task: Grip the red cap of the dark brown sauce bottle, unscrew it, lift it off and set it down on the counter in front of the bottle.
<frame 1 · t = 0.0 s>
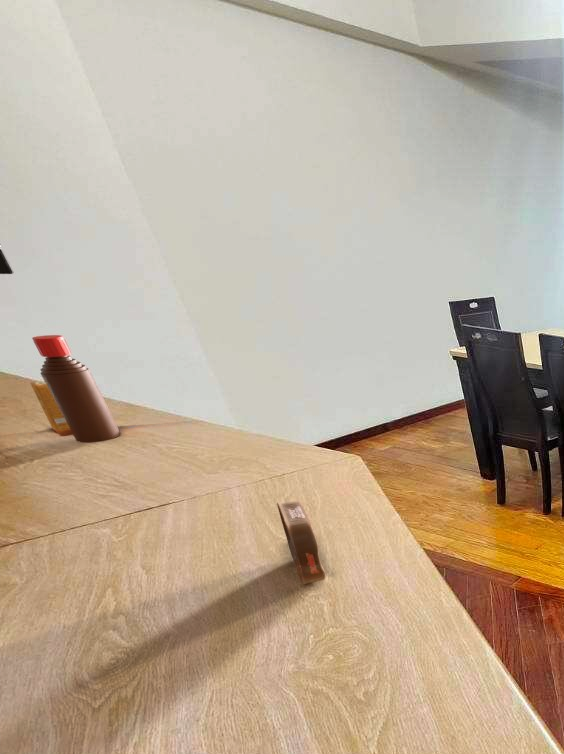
sauce bottle: (99, 437, 117), on the counter
supplement box: (69, 433, 119), on the counter
cap: (48, 338, 108), point 19 cm above the counter, screwed on, not yet turned
brown curved block: (311, 569, 79), on the counter
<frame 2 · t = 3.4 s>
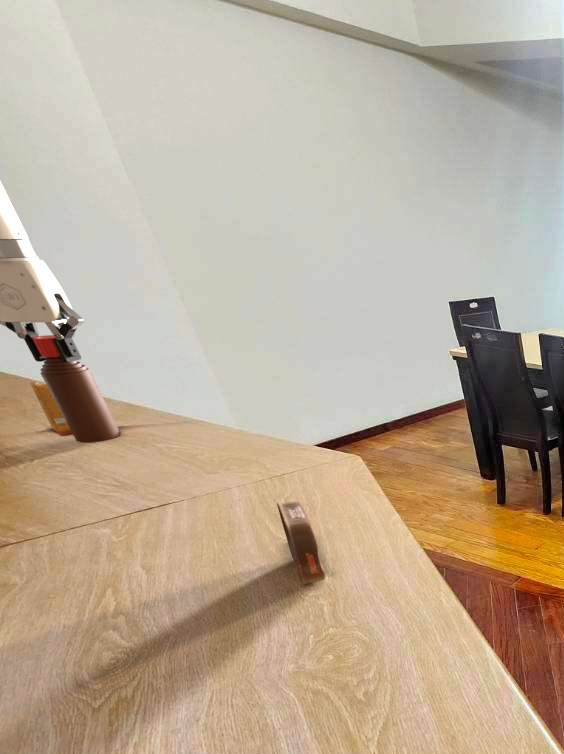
hand: (59, 359, 110), 15 cm above the counter, tool pointing down, fingers closed on cap, 3 cm apart
cap: (48, 338, 108), point 19 cm above the counter, screwed on, not yet turned, touching gripper
everything else where it was.
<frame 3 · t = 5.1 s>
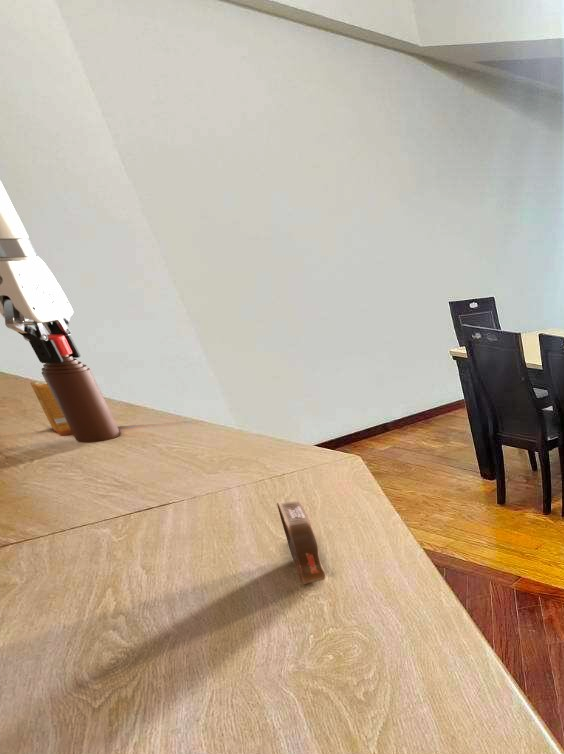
hand: (60, 359, 110), 15 cm above the counter, tool pointing down, fingers closed on cap, 3 cm apart
cap: (49, 337, 108), point 19 cm above the counter, turned 98° so far, risen 0.1 cm, still on its thread, touching gripper
everything else where it was.
when the fingers open (15 cm above the counter, at t = 7.8 s): cap stays where it is, point 19 cm above the counter.
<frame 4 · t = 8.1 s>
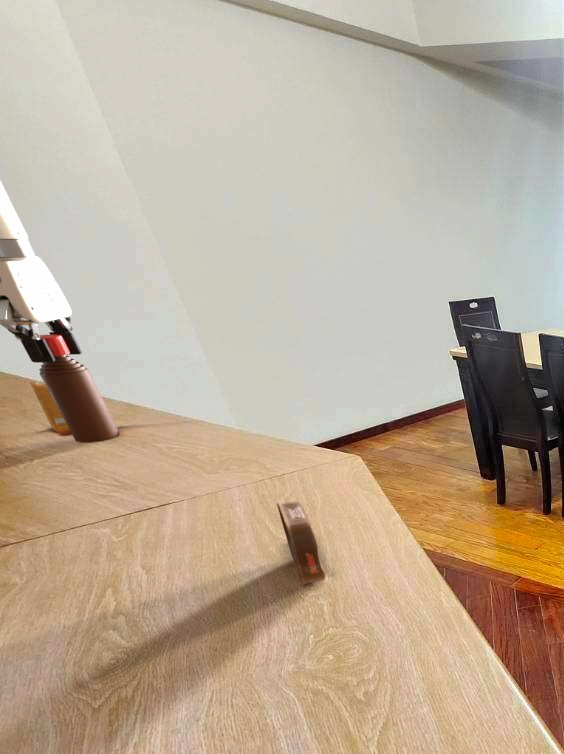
hand: (57, 357, 110), 15 cm above the counter, tool pointing down, fingers open, 6 cm apart
cap: (46, 338, 108), point 19 cm above the counter, turned 98° so far, risen 0.1 cm, still on its thread
everything else where it was.
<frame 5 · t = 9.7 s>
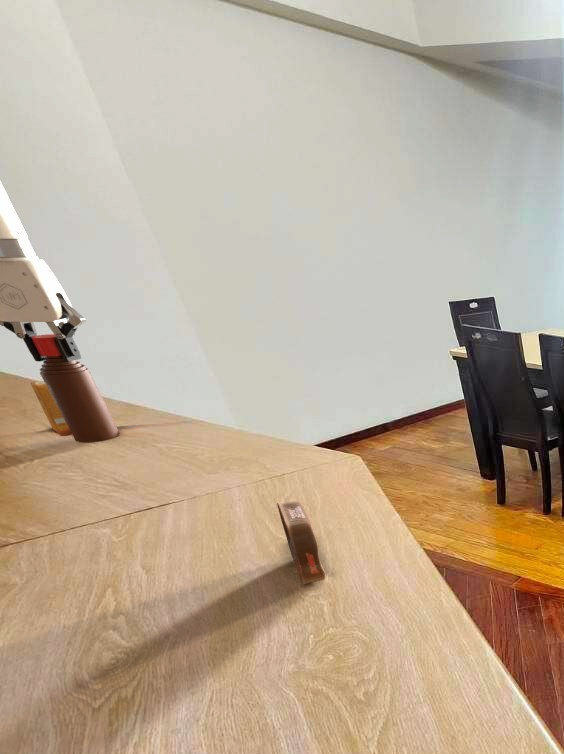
hand: (58, 358, 110), 15 cm above the counter, tool pointing down, fingers closed on cap, 3 cm apart
cap: (47, 337, 108), point 19 cm above the counter, turned 103° so far, risen 0.1 cm, still on its thread, touching gripper
everything else where it was.
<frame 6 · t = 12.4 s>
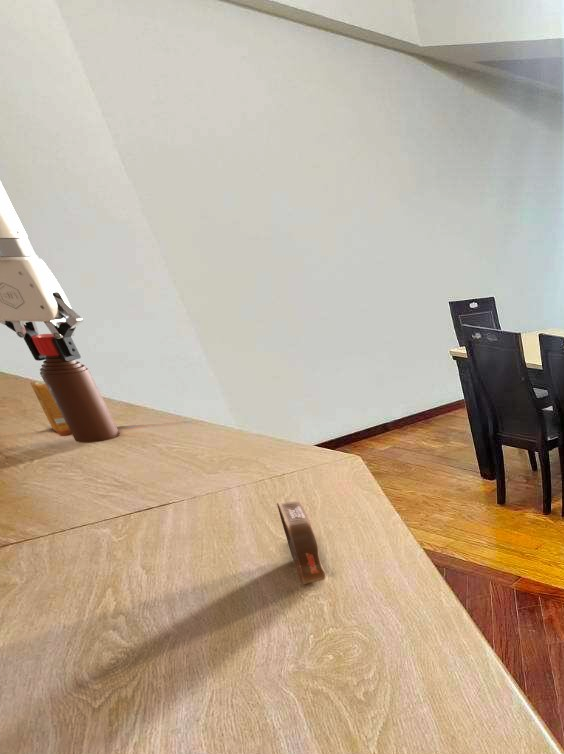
hand: (58, 358, 110), 15 cm above the counter, tool pointing down, fingers closed on cap, 3 cm apart
cap: (47, 337, 108), point 19 cm above the counter, turned 195° so far, risen 0.2 cm, still on its thread, touching gripper
everything else where it was.
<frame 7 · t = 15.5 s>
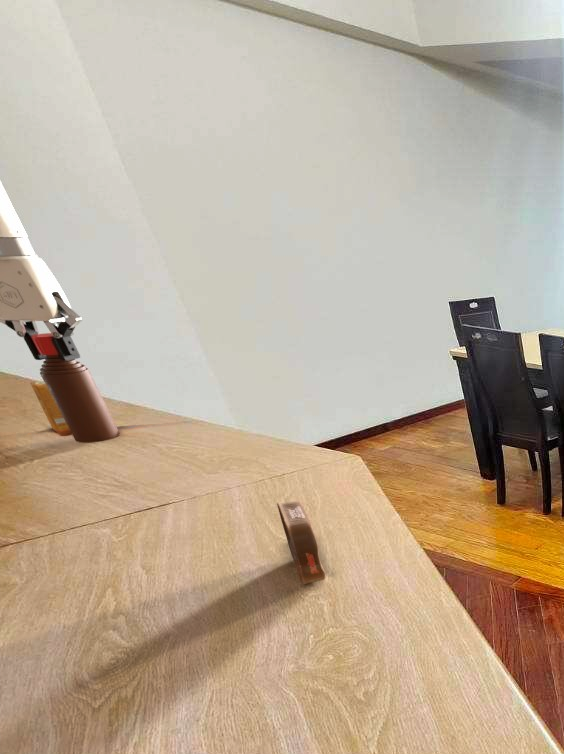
hand: (58, 357, 110), 15 cm above the counter, tool pointing down, fingers closed on cap, 3 cm apart
cap: (47, 336, 108), point 19 cm above the counter, turned 293° so far, risen 0.3 cm, still on its thread, touching gripper
everything else where it was.
when the fingers open (1 cm above the counter, at t = 24.0 s): cap drops 2 cm, point 3 cm above the counter.
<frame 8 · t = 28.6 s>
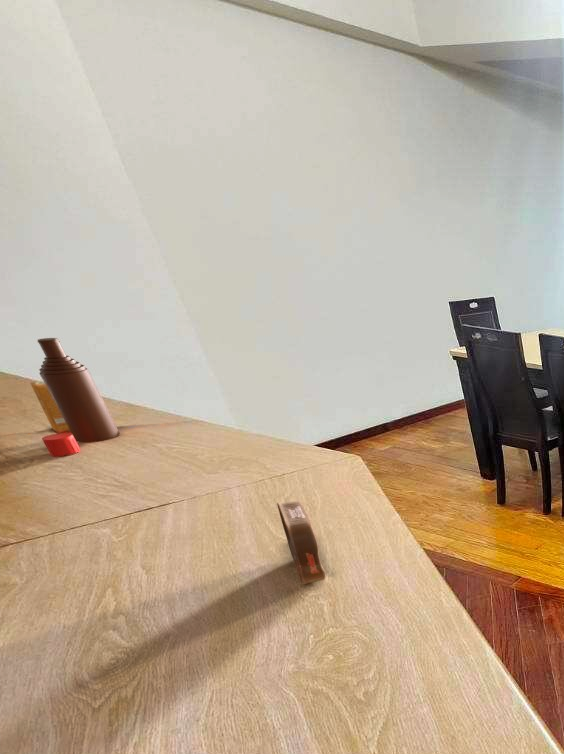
cap: (58, 437, 108), point 3 cm above the counter, off its thread
everything else where it was.
at the end: cap came off its thread; cap point 2.9 cm above the counter; the gripper is holding nothing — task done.
